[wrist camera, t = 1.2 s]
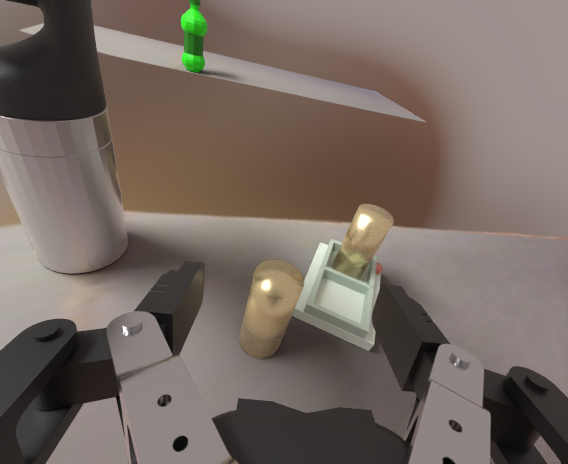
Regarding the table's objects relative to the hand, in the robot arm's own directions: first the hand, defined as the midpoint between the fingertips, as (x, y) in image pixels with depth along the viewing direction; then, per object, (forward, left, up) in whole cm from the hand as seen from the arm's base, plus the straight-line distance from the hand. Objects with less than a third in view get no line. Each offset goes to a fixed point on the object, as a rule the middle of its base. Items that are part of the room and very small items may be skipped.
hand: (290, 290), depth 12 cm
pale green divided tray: (+5, +20, -18) cm, 27 cm away
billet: (-2, +8, -18) cm, 20 cm away
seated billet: (+5, +23, -17) cm, 29 cm away
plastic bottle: (-81, +112, -18) cm, 139 cm away
